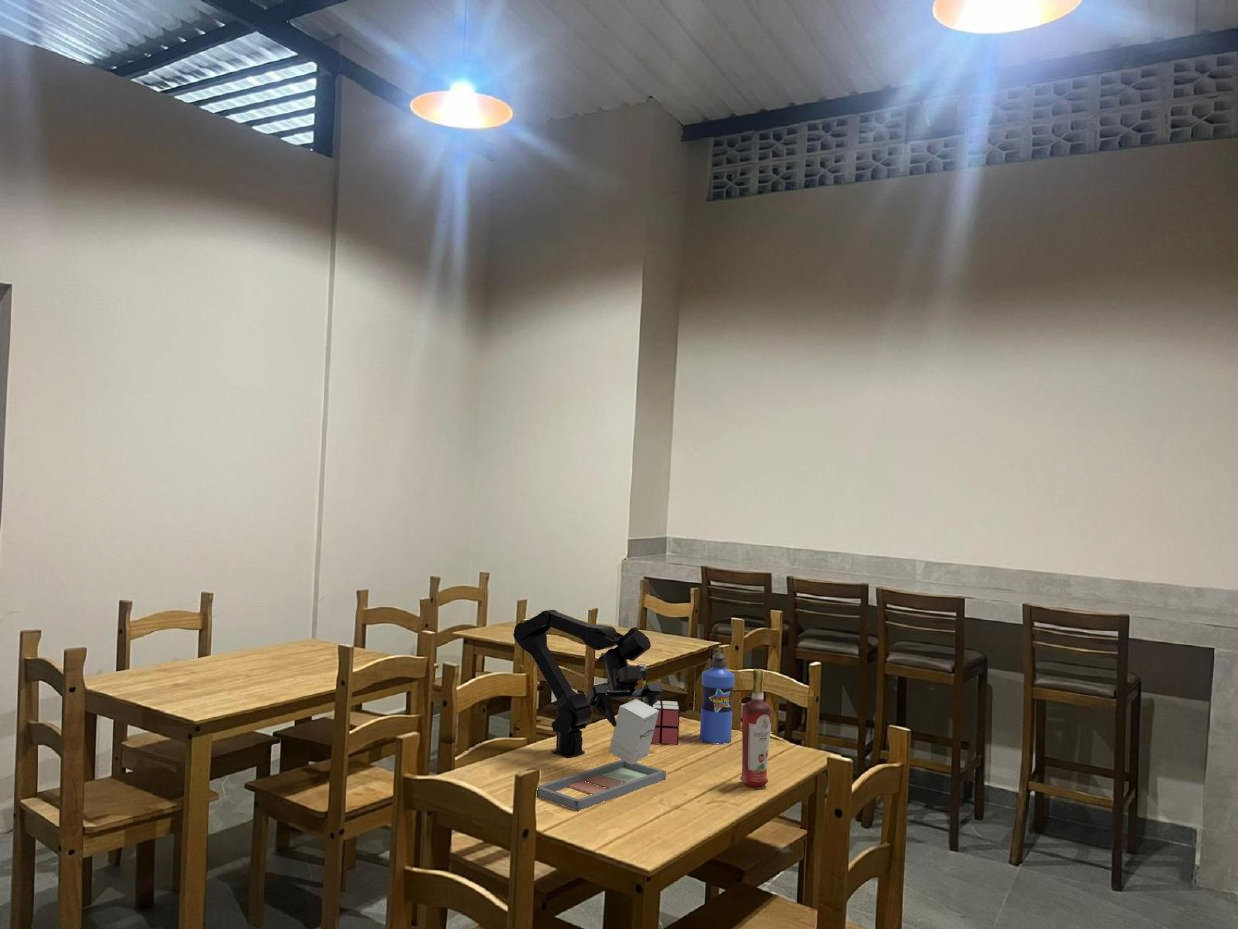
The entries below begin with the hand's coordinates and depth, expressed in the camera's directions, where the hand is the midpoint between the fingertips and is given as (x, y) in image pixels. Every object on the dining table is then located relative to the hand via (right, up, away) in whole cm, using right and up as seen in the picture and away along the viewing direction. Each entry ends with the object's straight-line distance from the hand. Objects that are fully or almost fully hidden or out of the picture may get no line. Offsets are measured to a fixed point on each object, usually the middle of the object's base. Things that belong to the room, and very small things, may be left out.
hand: (632, 725), depth 220 cm
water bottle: (+24, -16, +40) cm, 49 cm away
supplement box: (-1, -8, +1) cm, 8 cm away
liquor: (+30, -15, 0) cm, 33 cm away
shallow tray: (-7, -13, -7) cm, 16 cm away
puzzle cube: (+8, -15, +37) cm, 41 cm away
